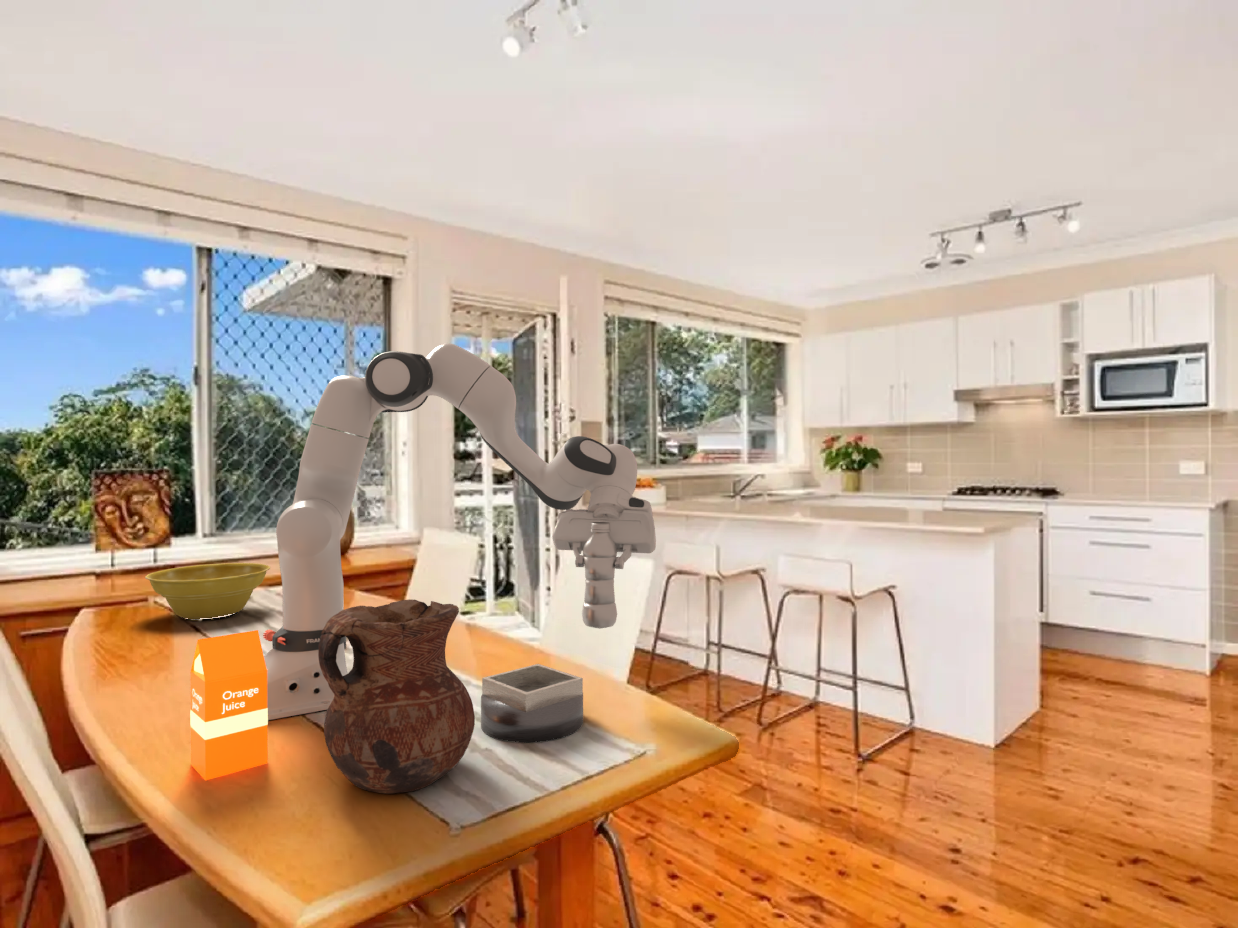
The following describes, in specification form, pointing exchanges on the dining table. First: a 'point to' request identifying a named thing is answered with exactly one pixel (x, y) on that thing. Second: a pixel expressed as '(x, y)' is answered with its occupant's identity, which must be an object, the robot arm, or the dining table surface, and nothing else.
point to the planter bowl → (208, 588)
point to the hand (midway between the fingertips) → (599, 566)
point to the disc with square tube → (531, 704)
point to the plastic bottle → (599, 577)
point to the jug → (395, 696)
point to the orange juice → (228, 705)
